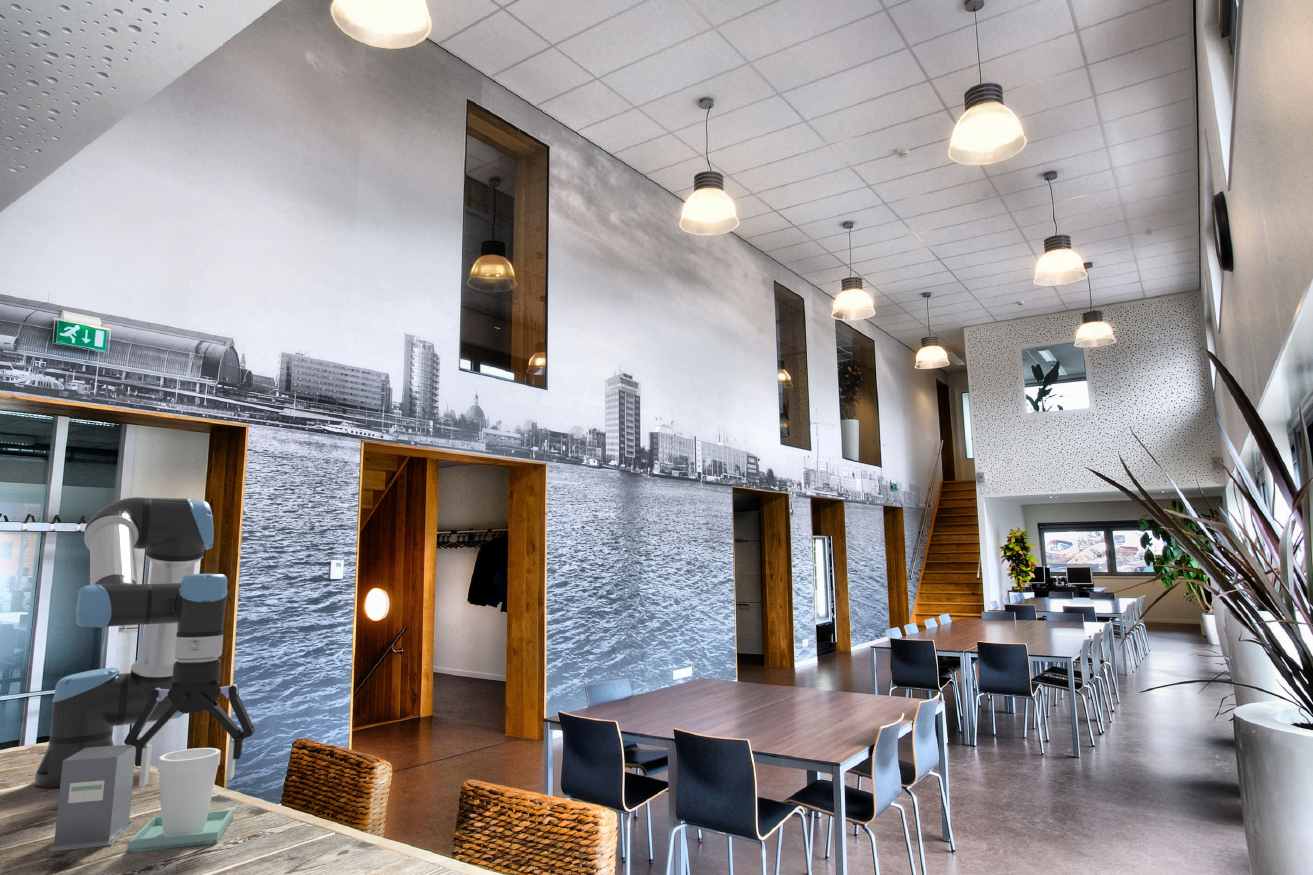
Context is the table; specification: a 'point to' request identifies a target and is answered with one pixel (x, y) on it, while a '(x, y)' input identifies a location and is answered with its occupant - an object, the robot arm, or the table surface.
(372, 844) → the table surface
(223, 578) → the robot arm
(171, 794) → the foam cup
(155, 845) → the tray
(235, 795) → the table surface
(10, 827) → the table surface
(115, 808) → the unit
